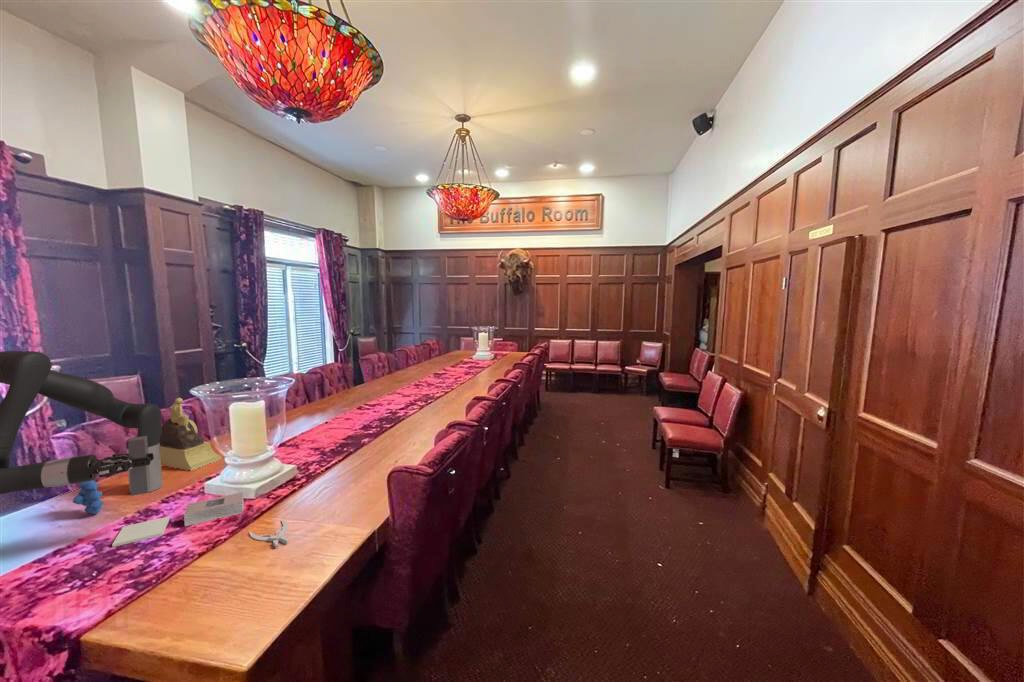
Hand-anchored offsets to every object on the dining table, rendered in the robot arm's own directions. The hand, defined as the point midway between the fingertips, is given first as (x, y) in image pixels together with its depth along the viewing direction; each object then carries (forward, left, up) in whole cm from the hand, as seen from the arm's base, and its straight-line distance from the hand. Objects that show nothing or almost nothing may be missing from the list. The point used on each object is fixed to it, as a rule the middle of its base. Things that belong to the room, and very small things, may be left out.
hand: (151, 458), depth 119 cm
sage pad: (0, -3, -23) cm, 23 cm away
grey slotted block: (-1, +15, -23) cm, 27 cm away
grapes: (-24, -21, -23) cm, 39 cm away
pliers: (+25, +31, -23) cm, 46 cm away
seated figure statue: (-65, -1, -23) cm, 69 cm away
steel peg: (0, -3, -10) cm, 10 cm away
